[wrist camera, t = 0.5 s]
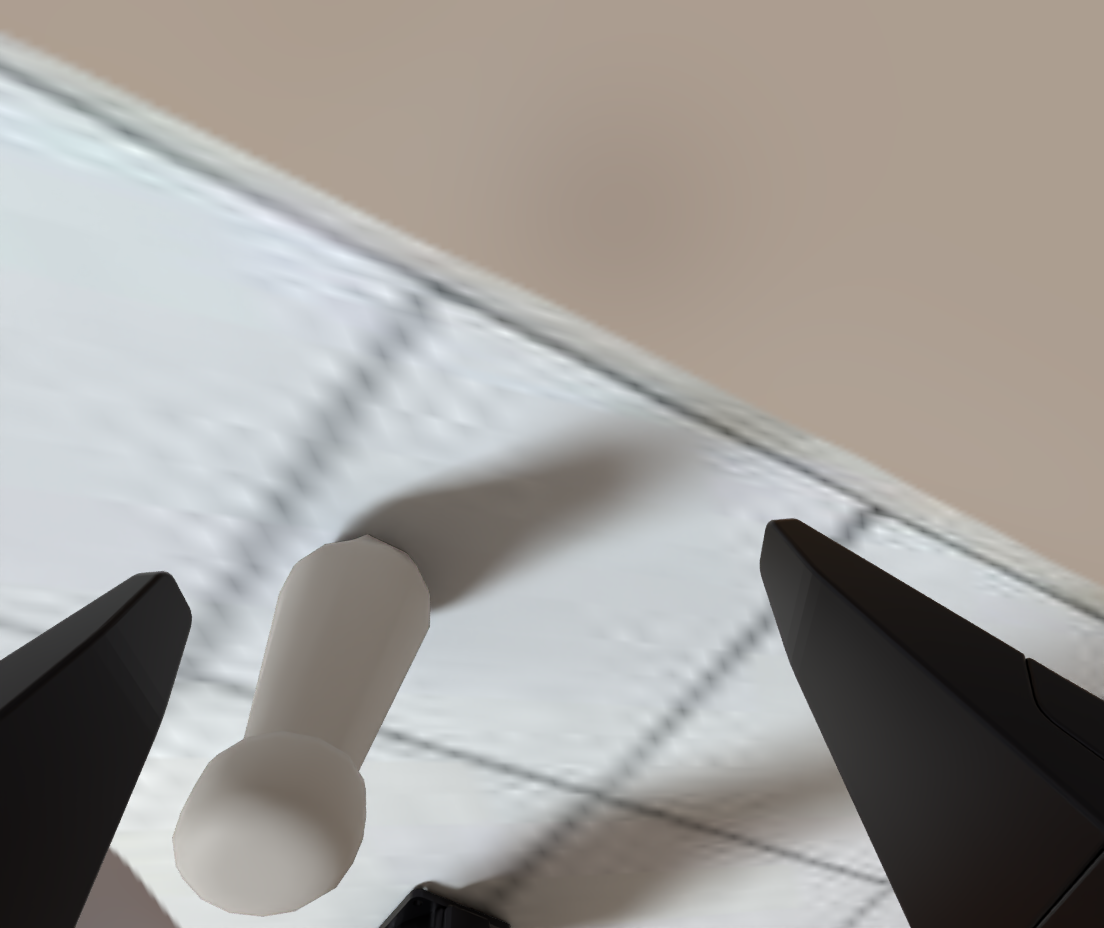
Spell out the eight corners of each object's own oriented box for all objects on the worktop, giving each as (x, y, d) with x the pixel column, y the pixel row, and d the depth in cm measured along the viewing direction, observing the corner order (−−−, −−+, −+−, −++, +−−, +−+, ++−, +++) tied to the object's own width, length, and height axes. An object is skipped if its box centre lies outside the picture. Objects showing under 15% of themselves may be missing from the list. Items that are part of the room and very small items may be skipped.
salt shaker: (422, 507, 25) (357, 757, 13) (447, 622, 27) (411, 933, 15) (280, 528, 25) (76, 804, 13) (316, 643, 27) (170, 976, 15)
